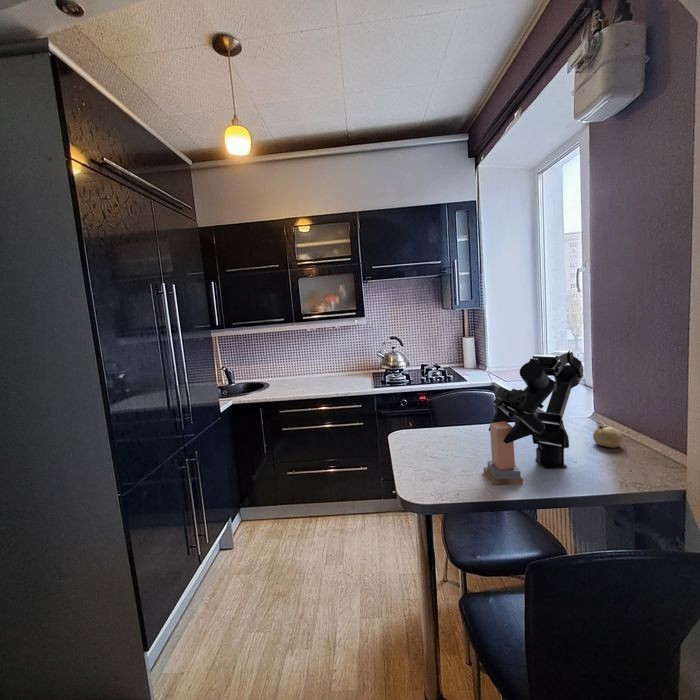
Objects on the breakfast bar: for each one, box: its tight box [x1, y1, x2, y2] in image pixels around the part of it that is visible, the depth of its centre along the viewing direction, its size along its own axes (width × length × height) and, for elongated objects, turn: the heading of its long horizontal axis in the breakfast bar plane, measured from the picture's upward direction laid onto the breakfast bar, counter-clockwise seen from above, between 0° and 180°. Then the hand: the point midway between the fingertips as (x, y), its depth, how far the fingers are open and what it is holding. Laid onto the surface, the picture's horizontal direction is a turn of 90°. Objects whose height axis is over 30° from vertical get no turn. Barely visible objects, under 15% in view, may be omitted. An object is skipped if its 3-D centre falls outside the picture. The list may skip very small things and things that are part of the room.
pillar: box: [489, 421, 516, 470], centre depth 103 cm, size 4×4×12 cm
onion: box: [592, 423, 624, 449], centre depth 121 cm, size 8×8×7 cm
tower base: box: [483, 466, 524, 486], centre depth 105 cm, size 8×8×2 cm
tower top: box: [486, 460, 522, 479], centre depth 104 cm, size 7×7×2 cm
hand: (496, 436), depth 103 cm, fingers open, 9 cm apart
